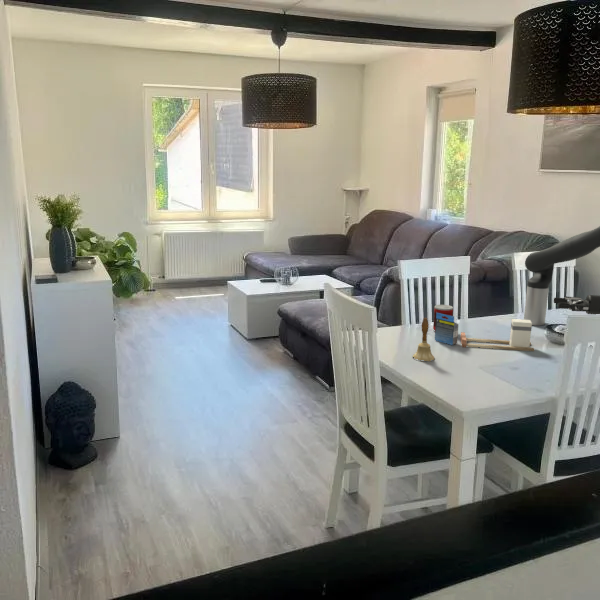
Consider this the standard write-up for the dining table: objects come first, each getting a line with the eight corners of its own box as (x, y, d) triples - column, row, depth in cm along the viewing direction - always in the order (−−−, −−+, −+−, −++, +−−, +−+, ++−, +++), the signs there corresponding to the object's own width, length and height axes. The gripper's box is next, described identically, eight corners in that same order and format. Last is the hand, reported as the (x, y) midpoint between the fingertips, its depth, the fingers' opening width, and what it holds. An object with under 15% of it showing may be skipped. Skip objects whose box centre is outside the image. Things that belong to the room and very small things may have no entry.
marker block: (509, 344, 246) (511, 318, 243) (527, 345, 245) (530, 320, 242) (510, 348, 242) (513, 321, 239) (529, 349, 240) (532, 323, 238)
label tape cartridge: (457, 343, 247) (459, 314, 244) (452, 345, 244) (454, 316, 241) (439, 338, 253) (441, 310, 250) (434, 340, 250) (435, 312, 248)
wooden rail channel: (460, 339, 253) (460, 332, 252) (529, 343, 247) (530, 336, 247) (461, 347, 242) (462, 340, 242) (534, 352, 237) (535, 344, 236)
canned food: (455, 332, 262) (456, 308, 259) (439, 334, 259) (441, 309, 256) (444, 327, 269) (446, 303, 266) (429, 329, 266) (431, 305, 263)
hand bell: (427, 363, 224) (429, 322, 220) (408, 358, 229) (410, 317, 225) (438, 358, 230) (441, 317, 226) (420, 352, 235) (422, 313, 231)
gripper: (596, 291, 239) (553, 289, 242) (606, 299, 225) (560, 297, 228) (594, 309, 241) (551, 307, 244) (604, 319, 227) (558, 316, 230)
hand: (556, 302), depth 236 cm, fingers open, 8 cm apart
